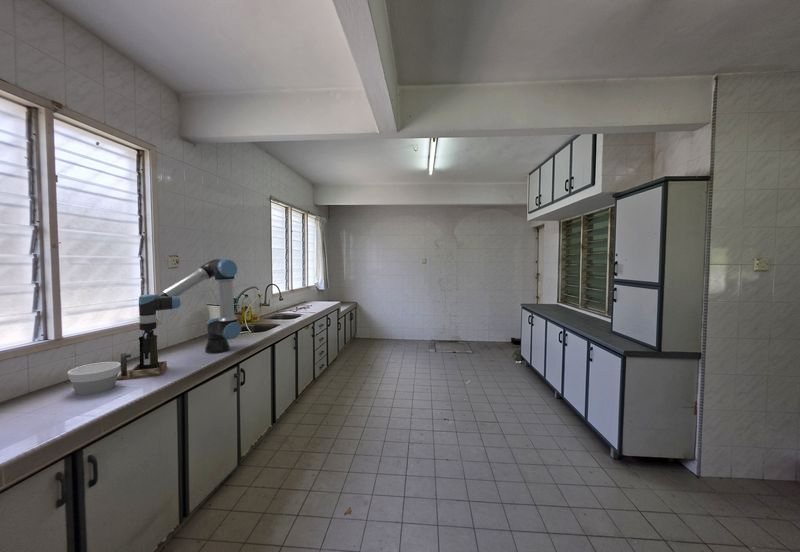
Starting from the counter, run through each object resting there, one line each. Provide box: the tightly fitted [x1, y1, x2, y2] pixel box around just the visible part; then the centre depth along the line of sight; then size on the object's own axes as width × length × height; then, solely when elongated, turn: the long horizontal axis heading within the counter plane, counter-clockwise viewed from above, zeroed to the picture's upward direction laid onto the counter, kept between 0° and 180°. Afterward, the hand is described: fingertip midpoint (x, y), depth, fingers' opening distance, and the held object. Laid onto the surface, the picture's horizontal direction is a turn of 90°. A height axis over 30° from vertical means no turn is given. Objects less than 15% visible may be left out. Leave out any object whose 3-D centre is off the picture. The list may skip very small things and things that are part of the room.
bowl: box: [67, 361, 121, 396], centre depth 159 cm, size 19×19×11 cm
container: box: [138, 334, 160, 370], centre depth 182 cm, size 9×9×18 cm
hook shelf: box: [116, 352, 168, 382], centre depth 180 cm, size 20×14×13 cm
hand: (149, 362), depth 182 cm, fingers closed on container, 8 cm apart
